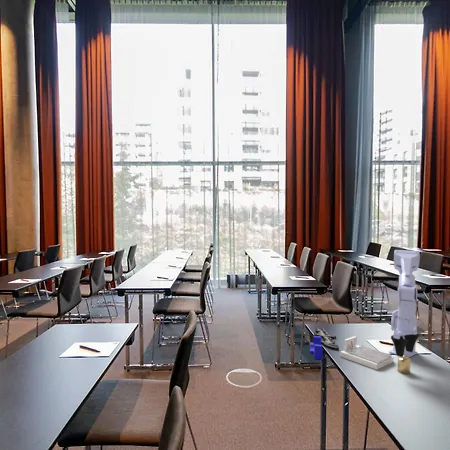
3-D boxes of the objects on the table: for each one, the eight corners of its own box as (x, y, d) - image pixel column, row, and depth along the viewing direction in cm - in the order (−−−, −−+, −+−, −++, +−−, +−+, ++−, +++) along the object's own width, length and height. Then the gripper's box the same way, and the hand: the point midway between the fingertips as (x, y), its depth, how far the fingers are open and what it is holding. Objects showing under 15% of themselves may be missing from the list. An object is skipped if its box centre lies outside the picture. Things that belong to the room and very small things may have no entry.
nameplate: (347, 347, 163) (324, 347, 162) (347, 351, 163) (324, 351, 162) (328, 327, 190) (308, 327, 190) (327, 330, 190) (308, 330, 190)
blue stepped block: (309, 349, 163) (310, 335, 163) (320, 350, 163) (320, 336, 162) (310, 359, 152) (310, 345, 151) (321, 361, 151) (322, 346, 151)
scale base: (357, 349, 164) (357, 334, 163) (393, 361, 151) (394, 345, 151) (340, 356, 155) (340, 340, 155) (376, 369, 143) (377, 352, 143)
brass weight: (400, 368, 145) (401, 352, 145) (412, 372, 142) (413, 356, 142) (395, 371, 142) (395, 355, 142) (406, 375, 139) (407, 359, 139)
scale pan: (362, 347, 160) (362, 345, 160) (391, 357, 150) (391, 355, 150) (348, 352, 154) (348, 350, 154) (378, 363, 144) (379, 361, 144)
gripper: (407, 324, 134) (406, 361, 134) (425, 317, 143) (424, 352, 143) (388, 319, 139) (387, 355, 140) (406, 313, 148) (405, 347, 149)
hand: (404, 353), depth 142 cm, fingers open, 7 cm apart
